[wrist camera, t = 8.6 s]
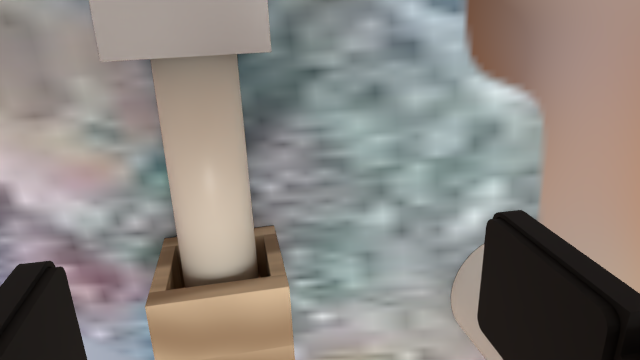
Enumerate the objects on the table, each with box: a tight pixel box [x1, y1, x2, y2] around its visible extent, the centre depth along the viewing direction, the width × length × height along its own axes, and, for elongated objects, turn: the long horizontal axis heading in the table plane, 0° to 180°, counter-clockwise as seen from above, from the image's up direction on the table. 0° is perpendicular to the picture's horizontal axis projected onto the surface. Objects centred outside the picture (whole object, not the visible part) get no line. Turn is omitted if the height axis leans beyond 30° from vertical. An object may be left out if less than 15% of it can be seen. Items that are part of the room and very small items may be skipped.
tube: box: [150, 54, 261, 288], centre depth 26 cm, size 15×5×5 cm, turn 3°
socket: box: [145, 226, 295, 360], centre depth 28 cm, size 6×7×8 cm
